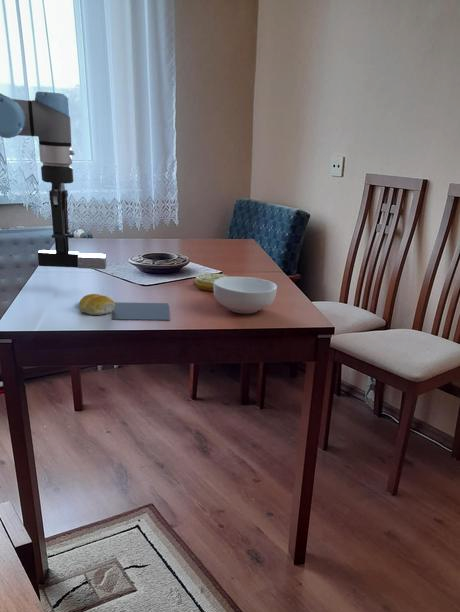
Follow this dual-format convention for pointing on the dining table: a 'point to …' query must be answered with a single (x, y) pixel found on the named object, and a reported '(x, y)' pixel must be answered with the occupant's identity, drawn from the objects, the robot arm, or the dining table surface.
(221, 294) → the cereal bowl
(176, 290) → the dining table surface
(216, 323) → the dining table surface
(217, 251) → the dining table surface
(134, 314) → the placemat
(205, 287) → the decorated donut
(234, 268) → the dining table surface
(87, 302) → the bread roll
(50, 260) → the black and grey bar
